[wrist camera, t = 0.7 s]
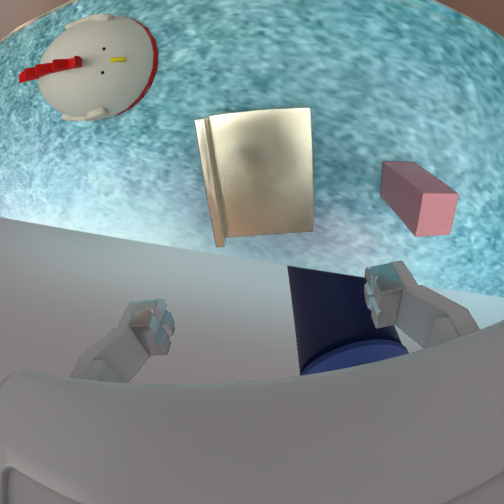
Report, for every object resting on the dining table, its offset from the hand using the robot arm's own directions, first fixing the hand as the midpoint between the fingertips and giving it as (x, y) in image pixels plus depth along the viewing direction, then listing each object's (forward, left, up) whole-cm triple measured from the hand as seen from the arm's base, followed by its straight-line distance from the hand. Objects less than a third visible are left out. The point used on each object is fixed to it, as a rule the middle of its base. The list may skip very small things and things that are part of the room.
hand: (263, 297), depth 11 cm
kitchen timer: (+14, +18, -27) cm, 35 cm away
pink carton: (-5, -18, -26) cm, 32 cm away
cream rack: (-2, 0, -26) cm, 26 cm away
